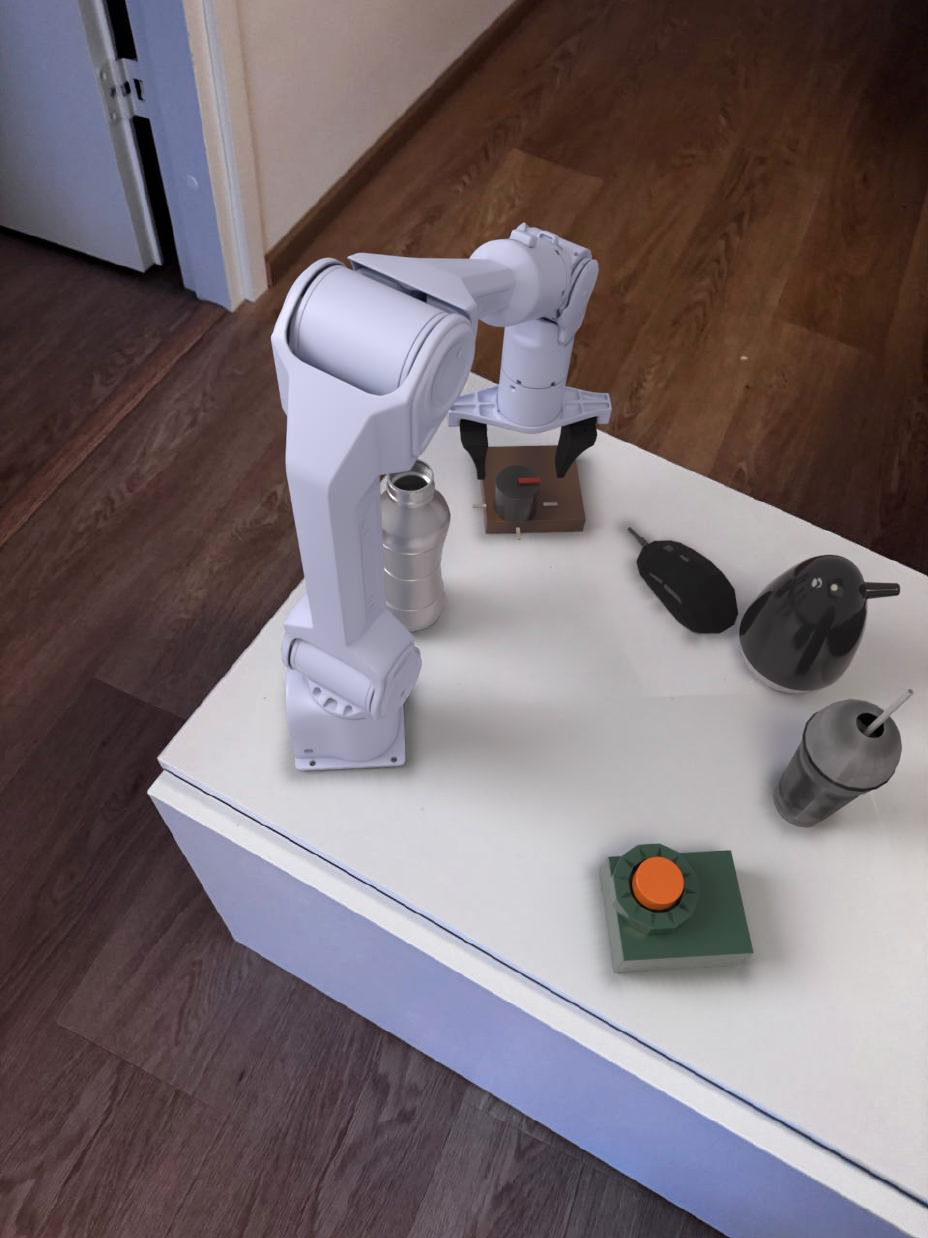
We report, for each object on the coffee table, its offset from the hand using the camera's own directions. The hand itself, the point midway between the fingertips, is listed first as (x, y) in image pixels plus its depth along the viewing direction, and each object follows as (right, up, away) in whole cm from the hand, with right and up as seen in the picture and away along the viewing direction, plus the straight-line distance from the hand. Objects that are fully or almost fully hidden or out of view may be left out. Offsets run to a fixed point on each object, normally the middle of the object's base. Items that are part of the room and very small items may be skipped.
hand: (519, 470), depth 93 cm
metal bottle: (-11, -14, 0) cm, 17 cm away
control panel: (+1, -2, +7) cm, 8 cm away
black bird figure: (+25, -18, -1) cm, 31 cm away
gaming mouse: (+16, -11, +3) cm, 19 cm away
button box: (+11, -38, -15) cm, 43 cm away
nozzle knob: (0, -3, +4) cm, 5 cm away
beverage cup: (+24, -30, -9) cm, 40 cm away
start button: (+9, -35, -19) cm, 41 cm away
